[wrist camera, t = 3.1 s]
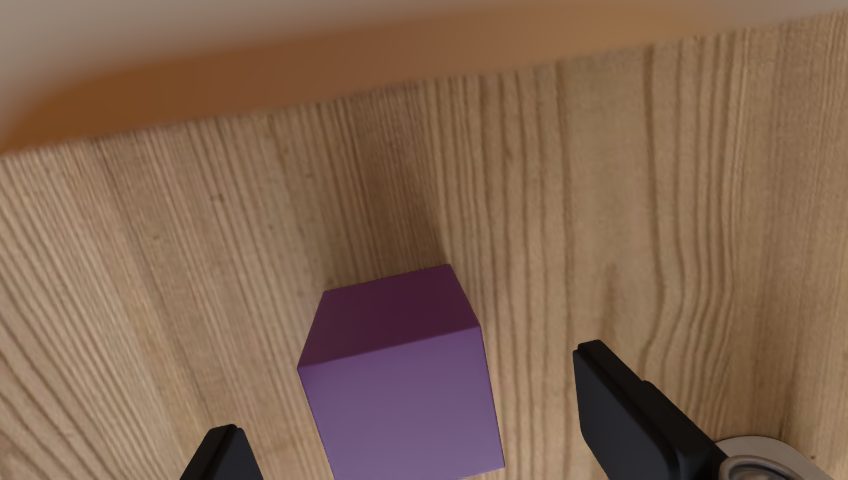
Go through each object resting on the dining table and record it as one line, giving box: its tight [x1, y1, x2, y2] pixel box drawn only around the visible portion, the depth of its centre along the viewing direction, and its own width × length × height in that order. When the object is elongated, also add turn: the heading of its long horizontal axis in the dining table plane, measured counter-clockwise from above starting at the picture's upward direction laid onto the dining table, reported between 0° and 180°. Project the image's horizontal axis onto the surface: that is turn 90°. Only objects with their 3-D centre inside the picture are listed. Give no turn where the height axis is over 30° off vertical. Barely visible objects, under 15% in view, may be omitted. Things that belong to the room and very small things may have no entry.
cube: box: [297, 264, 505, 480], centre depth 13 cm, size 5×5×5 cm
